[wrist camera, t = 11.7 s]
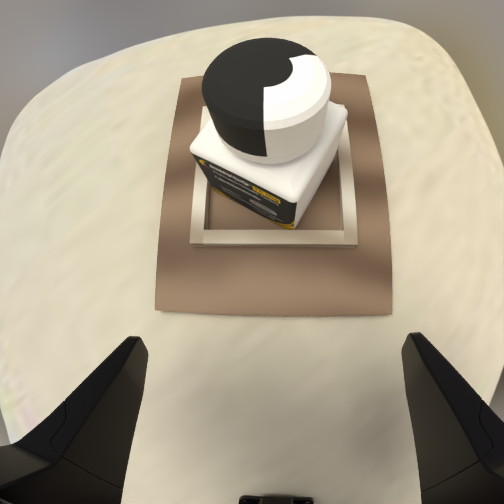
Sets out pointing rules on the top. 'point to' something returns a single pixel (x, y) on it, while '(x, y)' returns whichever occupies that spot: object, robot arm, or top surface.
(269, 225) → the walnut stand
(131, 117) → the top surface
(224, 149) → the medicine bottle
